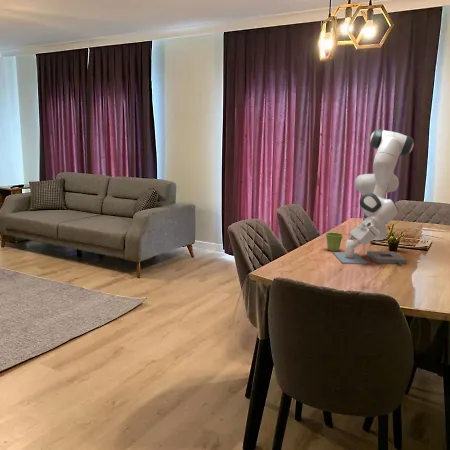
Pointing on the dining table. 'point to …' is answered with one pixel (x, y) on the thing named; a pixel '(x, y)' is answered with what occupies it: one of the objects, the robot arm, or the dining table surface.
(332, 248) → the plant pot
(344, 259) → the rubber mat
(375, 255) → the grey square frame
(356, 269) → the dining table surface
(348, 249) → the white rounded cylinder
